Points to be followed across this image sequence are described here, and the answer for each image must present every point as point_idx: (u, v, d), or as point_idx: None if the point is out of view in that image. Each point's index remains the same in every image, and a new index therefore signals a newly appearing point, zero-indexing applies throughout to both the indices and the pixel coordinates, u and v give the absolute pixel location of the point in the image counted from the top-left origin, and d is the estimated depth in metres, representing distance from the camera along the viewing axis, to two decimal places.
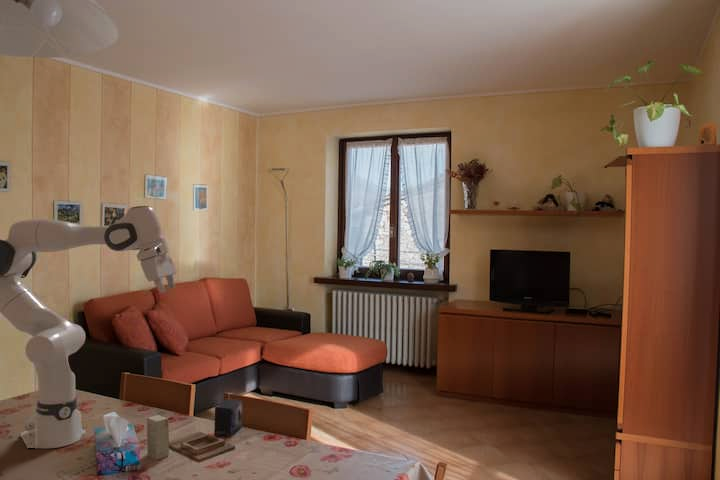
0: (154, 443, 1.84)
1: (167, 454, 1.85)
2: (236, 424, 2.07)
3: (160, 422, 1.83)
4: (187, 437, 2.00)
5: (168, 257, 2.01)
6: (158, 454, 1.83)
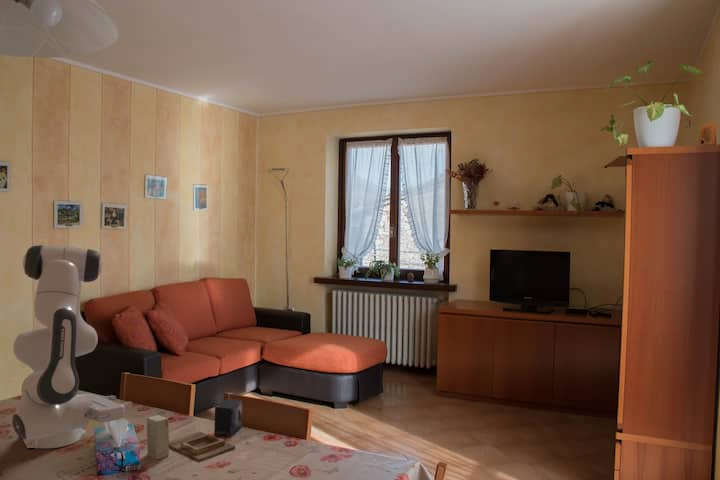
0: (154, 443, 1.84)
1: (167, 454, 1.85)
2: (236, 424, 2.07)
3: (160, 422, 1.83)
4: (187, 437, 2.00)
5: None
6: (158, 454, 1.83)
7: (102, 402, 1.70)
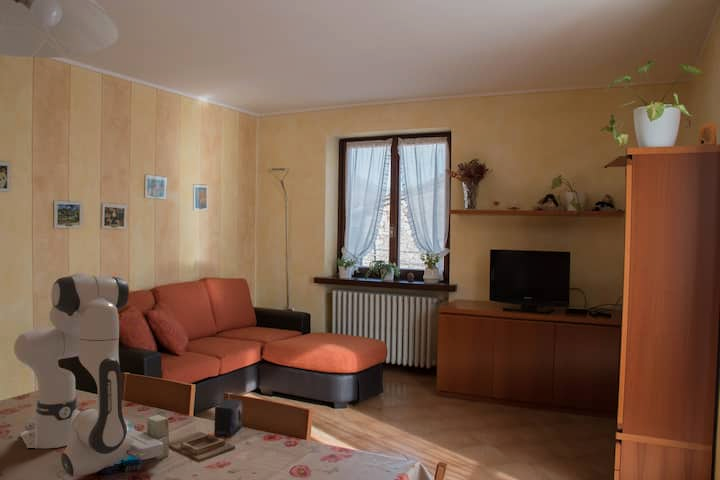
0: None
1: (167, 454, 1.86)
2: (236, 424, 2.07)
3: (160, 422, 1.83)
4: (187, 437, 2.00)
5: None
6: None
7: (142, 438, 1.80)
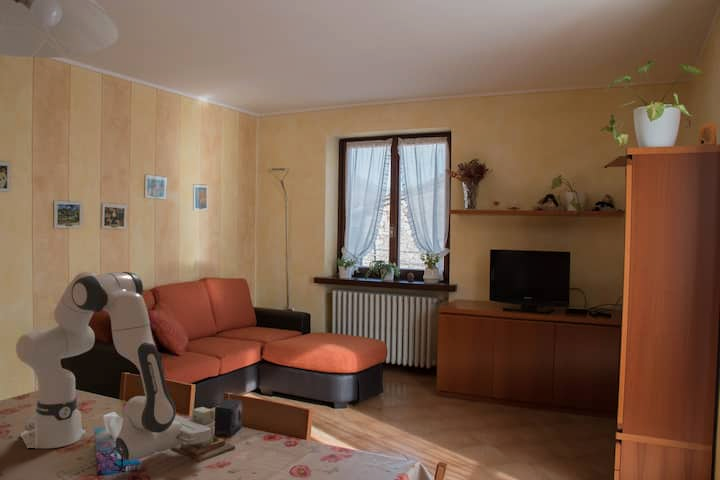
0: None
1: None
2: (236, 424, 2.07)
3: (206, 413, 1.90)
4: None
5: None
6: (204, 444, 1.89)
7: (189, 424, 1.86)
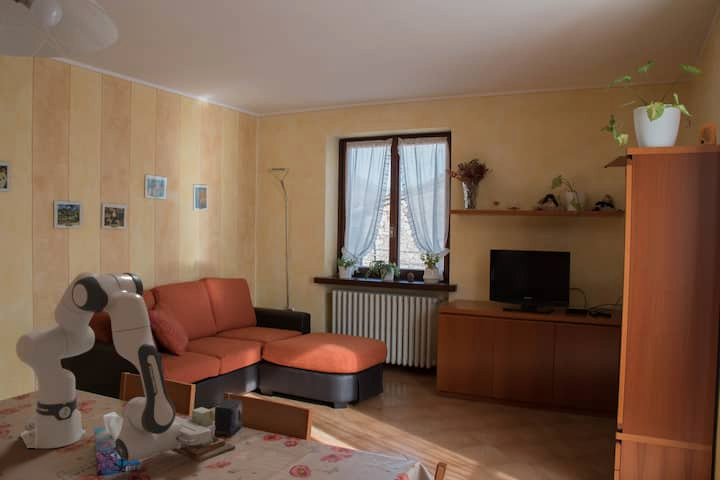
0: None
1: None
2: (236, 424, 2.07)
3: (205, 413, 1.89)
4: None
5: None
6: (204, 445, 1.89)
7: (189, 425, 1.86)
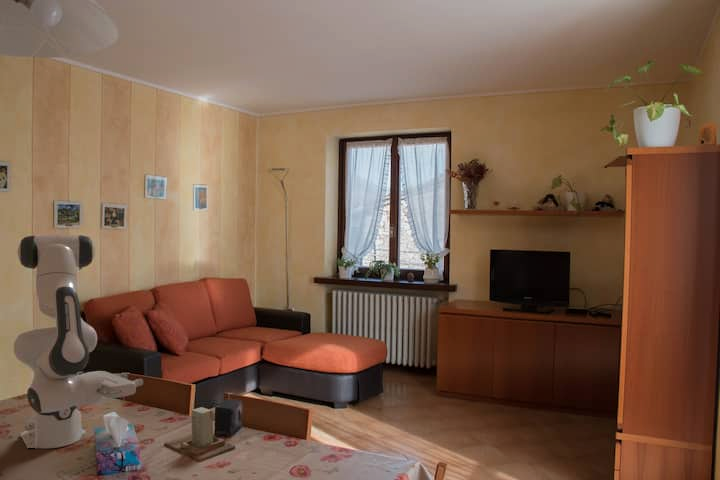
0: (200, 434, 1.89)
1: None
2: (236, 424, 2.07)
3: (205, 413, 1.89)
4: (187, 437, 2.00)
5: None
6: (204, 445, 1.89)
7: (114, 378, 1.74)
